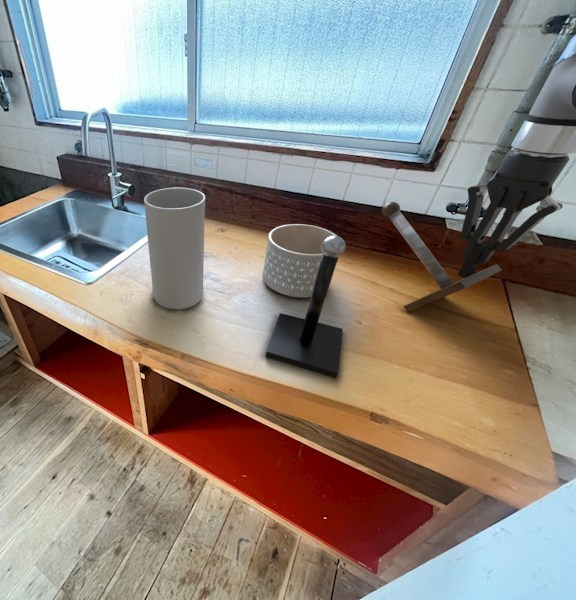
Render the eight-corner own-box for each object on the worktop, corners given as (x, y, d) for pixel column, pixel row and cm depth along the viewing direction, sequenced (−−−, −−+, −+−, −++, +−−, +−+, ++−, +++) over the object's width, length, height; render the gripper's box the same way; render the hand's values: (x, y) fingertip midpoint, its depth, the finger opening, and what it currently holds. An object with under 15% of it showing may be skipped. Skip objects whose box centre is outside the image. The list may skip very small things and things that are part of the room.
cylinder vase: (212, 299, 79) (217, 200, 64) (168, 317, 74) (162, 214, 59) (185, 276, 88) (184, 184, 72) (144, 291, 83) (134, 195, 68)
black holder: (337, 378, 59) (266, 366, 65) (342, 333, 68) (279, 327, 74) (343, 255, 46) (253, 255, 52) (348, 220, 55) (271, 224, 61)
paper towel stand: (439, 295, 78) (507, 282, 65) (405, 312, 73) (471, 301, 61) (398, 201, 80) (457, 171, 67) (362, 211, 75) (418, 182, 63)
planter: (249, 282, 84) (254, 238, 77) (285, 260, 93) (293, 218, 85) (305, 310, 74) (318, 263, 67) (340, 283, 83) (355, 238, 75)
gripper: (606, 156, 49) (512, 284, 63) (503, 142, 58) (442, 256, 72) (584, 164, 46) (491, 296, 60) (480, 147, 55) (421, 265, 70)
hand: (464, 274), depth 66 cm, fingers closed
